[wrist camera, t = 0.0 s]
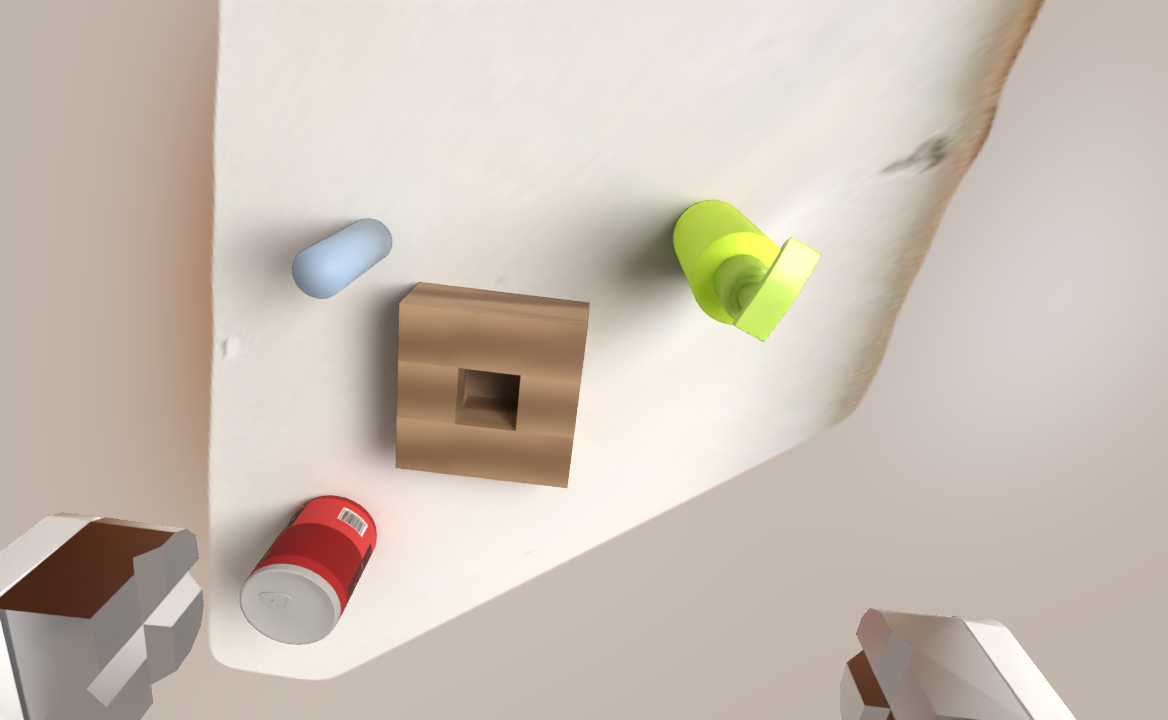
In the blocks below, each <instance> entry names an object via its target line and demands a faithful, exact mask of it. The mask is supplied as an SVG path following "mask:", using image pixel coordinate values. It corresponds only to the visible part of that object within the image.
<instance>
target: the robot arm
mask: <svg viewBox="0 0 1168 720" xmlns="http://www.w3.org/2000/svg"><path fill="white" fill-rule="evenodd" d="M198 559H199V556H198V548H197V542H196V536H195V535H194V534H193V533H192V532H190V531H189V530H187V529H184V528H178V527H170V526H164V525H156V524H149V523H142V522H135V521H127V520H119V519H113V518H100V517H95V516H87V515H79V514H71V513H64V512H63V513H59V514H54V515H49V516H47V517H45V518H44V519H43V520H41V521H40V522H39V523H38V524H36V525H35V526H33V527H32V528H31V529H29V530H28V531H27V532H25V533H24V534H23V535H22V536H20V537H19V538H18V539H16V540H15V541H14V542H12V543H11V544H10V545H8V546H7V547H6V548H4V549H3V550H2V551H0V720H140V719H141V718H142V717H143V715H144V714H145V712H146V711H147V710H148V708H149V707H150V706H151V705H152V703H153V697H152V687H151V685H152V684H153V683H155V682H157V681H159V680H161V679H162V678H164V677H166V676H168V675H169V674H171V673H173V672H175V671H177V669H178V668H179V666H180V665H181V663H182V662H183V661H184V659H185V658H186V656H187V655H188V654H189V652H190V651H191V649H192V646H193V644H194V641H195V639H196V636H197V634H198V631H199V629H200V626H201V621H202V613H203V606H204V605H203V594H202V588H201V587H200V586H199V585H198V583H197V582H196V581H195V580H194V579H193V578H192V576H191V575H190V574H189V573H188V571H189V570H190V568H191V567H192V566H193V565H194V564H195V563H196V561H197V560H198ZM856 634H857V637H858V639H859V641H860V643H861V646H862V648H863V650H862V651H861V652H860V653H859V654H857V655H856V656H855V657H853V658H852V659H850V660H849V661H848V662H847V663H846V666H845V670H844V673H843V677H842V680H841V684H840V710H841V715H842V720H1076V719H1075V718H1074V716H1073V715H1072V714H1071V712H1070V711H1069V710H1068V708H1067V707H1066V706H1065V704H1064V703H1063V702H1062V701H1061V699H1060V698H1059V696H1058V695H1057V694H1056V692H1055V691H1054V690H1053V689H1052V687H1051V686H1050V684H1049V683H1048V682H1047V680H1046V679H1045V678H1044V676H1043V675H1042V674H1041V672H1040V671H1039V670H1038V669H1037V667H1036V666H1035V665H1034V663H1033V662H1032V661H1031V659H1030V658H1029V657H1028V655H1027V654H1026V653H1025V651H1024V650H1023V649H1022V647H1021V646H1020V645H1019V643H1018V642H1017V641H1016V639H1015V638H1014V637H1013V636H1012V634H1011V633H1010V631H1009V630H1008V629H1007V628H1006V627H1005V626H1004V625H1002V624H1000V623H999V622H997V621H996V620H992V619H981V618H969V617H959V616H952V617H946V616H937V615H928V614H919V613H910V612H900V611H891V610H882V609H873V608H870V609H869V610H868V611H867V612H866V613H865V614H864V616H863V617H862V619H861V621H860V624H859V627H858V630H857V633H856Z"/></svg>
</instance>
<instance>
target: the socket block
mask: <svg viewBox="0 0 1168 720" xmlns="http://www.w3.org/2000/svg"><path fill="white" fill-rule="evenodd" d="M588 316H589V303H586V302H578V301H570V300H562V299H554V298H546V297H537V296H529V295H521V294H513V293H505V292H496V291H488V290H480V289H472V288H464V287H456V286H447V285H439V284H431V283H423V282H419V283H418V284H417V285H416V286H415V287H414V288H413V289H412V290H411V291H410V293H409V294H408V295H407V296H406V297H405V298H404V299H403V300H402V301H401V302H400V303H399V339H398V385H397V430H396V468H401V469H409V470H418V471H426V472H435V473H443V474H452V475H460V476H469V477H477V478H486V479H494V480H503V481H511V482H520V483H528V484H537V485H545V486H554V487H562V488H567V486H568V478H569V470H570V462H571V454H572V446H573V438H574V431H575V423H576V415H577V407H578V399H579V391H580V383H581V376H582V368H583V360H584V352H585V344H586V336H587V328H588Z"/></svg>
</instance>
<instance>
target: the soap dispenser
mask: <svg viewBox="0 0 1168 720" xmlns="http://www.w3.org/2000/svg"><path fill="white" fill-rule="evenodd" d="M673 246H674V250H675V253H676V255H677V257H678V260H679V262H680V264H681V266H682V269H683V271H684V273H685V276H686V278H687V280H688V283H689V285H690V287H691V290H692V292H693V294H694V296H695V299H696V301H697V303H698V304H699V306H700V307H701V309H702V310H703V311H704V312H705V313H706V314H707V315H709V316H710V317H711V318H713V319H715V320H717V321H719V322H722V323H725V324H730V325H734V326H735V327H737V328H739V329H741V330H742V331H744V332H746V333H748V334H750V335H752V336H754V337H755V338H757V339H759V340H761V341H763V342H764V341H765V340H766V339H767V337H768V336H769V335H770V333H771V332H772V331H773V329H774V328H775V327H776V325H777V324H778V322H779V321H780V320H781V318H782V317H783V315H784V314H785V313H786V311H787V310H788V308H789V307H790V306H791V304H792V303H793V301H794V300H795V298H796V297H797V295H798V294H799V292H800V290H801V289H802V287H803V286H804V284H805V282H806V281H807V279H808V277H809V276H810V274H811V272H812V270H813V268H814V267H815V265H816V263H817V261H818V259H819V257H820V255H821V254H820V253H819V252H817V251H815V250H814V249H812V248H810V247H808V246H807V245H805V244H803V243H801V242H800V241H798V240H796V239H794V238H792V237H791V238H789V239H788V240H787V241H786V242H785V243H784V244H783V246H782V248H781V249H779V247H778V246H777V245H776V244H775V243H774V242H773V241H771V240H770V239H769V238H768V237H767V236H766V235H765V234H764V233H763V232H762V231H760V230H759V229H758V228H757V227H756V226H755V225H754V224H753V223H752V222H750V221H749V220H748V219H747V218H746V217H745V216H744V215H743V214H742V213H740V212H739V211H738V210H737V209H736V208H735V207H733V206H732V205H730V204H728V203H726V202H723V201H719V200H706V201H702V202H699V203H696V204H694V205H693V206H691V207H690V208H688V209H687V210H686V211H685V212H684V213H683V214H682V215H681V217H680V218H679V220H678V221H677V223H676V226H675V229H674V233H673Z"/></svg>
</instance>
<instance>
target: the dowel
mask: <svg viewBox="0 0 1168 720" xmlns="http://www.w3.org/2000/svg"><path fill="white" fill-rule="evenodd" d="M391 247H392V237H391V234H390V232H389V230H388V228H387V227H386V226H385V225H384V224H383V223H381V222H380V221H378V220H375V219H369V218H368V219H362V220H360V221H358V222H356V223H354V224H352V225H350V226H349V227H347V228H345V229H343V230H341V231H339V232H337V233H335V234H334V235H332V236H330V237H328V238H326V239H324V240H322V241H320V242H318V243H317V244H315V245H313V246H311V247H309V248H307V249H305V250H303V251H302V252H300V253H299V254H298V255H297V256H296V258H295V260H294V262H293V266H292V274H293V278H294V280H295V282H296V284H297V286H298V287H299V288H300V289H301V290H302V291H303V292H304V293H306V294H307V295H309V296H311V297H314V298H319V299H325V298H329V297H332V296H334V295H335V294H337V293H338V292H339V291H341V290H342V289H343V288H345V287H346V286H347V285H349V284H350V283H351V282H353V281H354V280H355V279H357V278H358V277H359V276H361V275H362V274H363V273H364V272H366V271H367V270H368V269H370V268H371V267H372V266H374V265H375V264H376V263H378V262H379V261H380V260H382V259H383V258H384V257H386V256H387V255H388V253H389V252H390V250H391Z"/></svg>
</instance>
